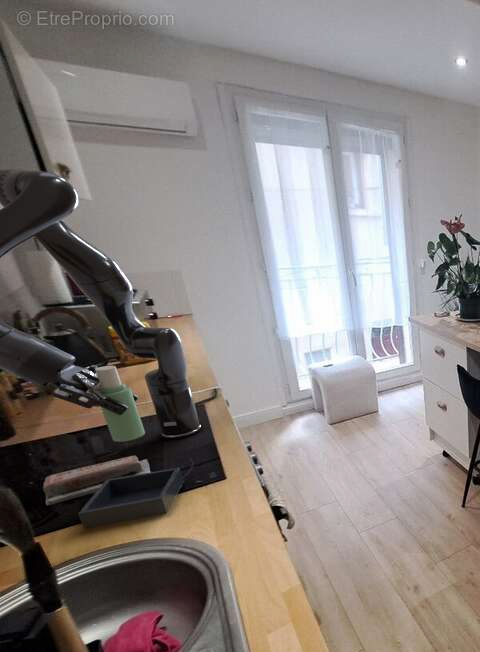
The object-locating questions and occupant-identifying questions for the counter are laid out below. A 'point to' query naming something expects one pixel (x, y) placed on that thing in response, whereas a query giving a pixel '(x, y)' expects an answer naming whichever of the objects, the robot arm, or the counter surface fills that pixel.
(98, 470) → the packaged product
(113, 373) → the bottle
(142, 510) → the tray
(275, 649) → the counter surface
